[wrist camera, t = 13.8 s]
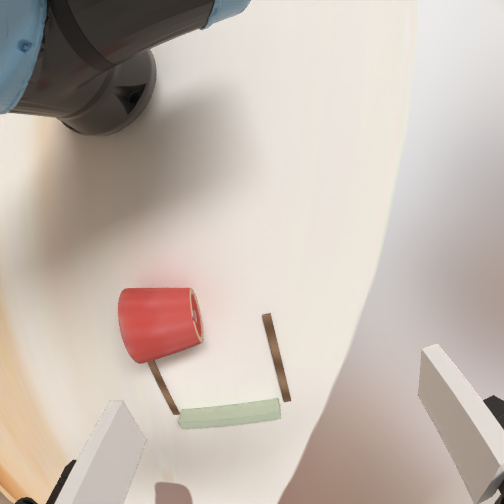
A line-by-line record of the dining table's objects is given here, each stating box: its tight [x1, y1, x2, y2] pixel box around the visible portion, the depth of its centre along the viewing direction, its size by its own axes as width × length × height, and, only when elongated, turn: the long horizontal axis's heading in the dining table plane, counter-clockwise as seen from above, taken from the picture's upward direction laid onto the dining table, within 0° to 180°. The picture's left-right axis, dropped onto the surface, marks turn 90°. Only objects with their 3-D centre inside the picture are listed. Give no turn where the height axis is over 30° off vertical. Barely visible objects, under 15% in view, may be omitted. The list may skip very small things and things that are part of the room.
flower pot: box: [118, 288, 203, 364], centre depth 43 cm, size 11×11×10 cm
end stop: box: [179, 398, 281, 429], centre depth 51 cm, size 2×18×4 cm, turn 103°
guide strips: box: [148, 313, 291, 415], centre depth 50 cm, size 18×22×1 cm
